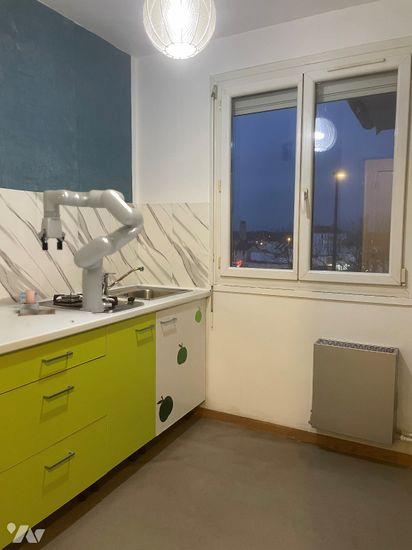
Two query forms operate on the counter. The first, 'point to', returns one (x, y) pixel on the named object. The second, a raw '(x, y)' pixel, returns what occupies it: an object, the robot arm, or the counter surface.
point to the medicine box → (23, 296)
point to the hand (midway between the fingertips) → (52, 250)
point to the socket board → (33, 310)
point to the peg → (30, 296)
